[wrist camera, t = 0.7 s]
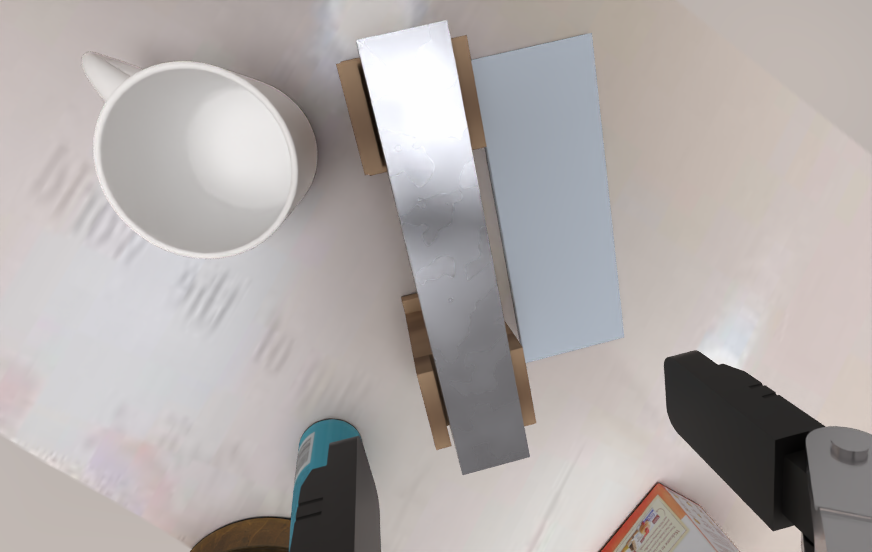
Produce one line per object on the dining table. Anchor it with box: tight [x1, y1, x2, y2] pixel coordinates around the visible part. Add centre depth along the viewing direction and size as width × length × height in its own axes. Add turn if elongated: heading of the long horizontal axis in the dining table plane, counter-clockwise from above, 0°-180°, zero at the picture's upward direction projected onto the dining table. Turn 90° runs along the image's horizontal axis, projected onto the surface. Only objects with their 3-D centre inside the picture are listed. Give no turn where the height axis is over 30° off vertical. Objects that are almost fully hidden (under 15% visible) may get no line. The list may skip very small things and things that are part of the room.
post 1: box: [336, 35, 487, 176], centre depth 28 cm, size 7×6×10 cm
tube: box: [289, 419, 362, 552], centre depth 30 cm, size 7×5×19 cm, turn 178°
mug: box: [82, 52, 318, 259], centre depth 27 cm, size 9×12×11 cm
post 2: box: [401, 293, 536, 450], centre depth 33 cm, size 7×6×10 cm
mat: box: [471, 33, 624, 363], centre depth 36 cm, size 22×8×1 cm, turn 12°
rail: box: [357, 20, 530, 475], centre depth 26 cm, size 22×4×4 cm, turn 12°
